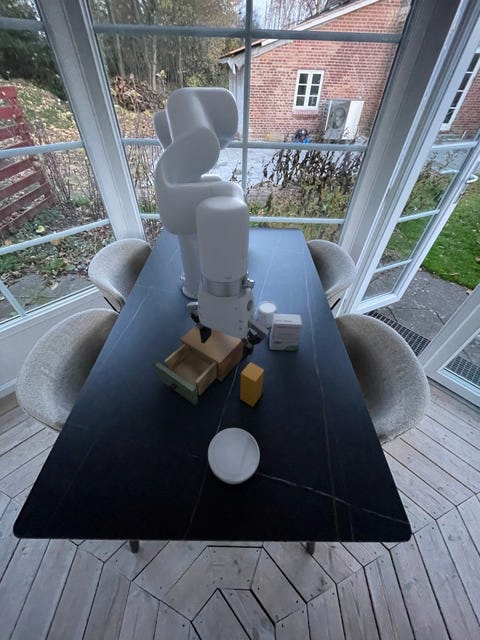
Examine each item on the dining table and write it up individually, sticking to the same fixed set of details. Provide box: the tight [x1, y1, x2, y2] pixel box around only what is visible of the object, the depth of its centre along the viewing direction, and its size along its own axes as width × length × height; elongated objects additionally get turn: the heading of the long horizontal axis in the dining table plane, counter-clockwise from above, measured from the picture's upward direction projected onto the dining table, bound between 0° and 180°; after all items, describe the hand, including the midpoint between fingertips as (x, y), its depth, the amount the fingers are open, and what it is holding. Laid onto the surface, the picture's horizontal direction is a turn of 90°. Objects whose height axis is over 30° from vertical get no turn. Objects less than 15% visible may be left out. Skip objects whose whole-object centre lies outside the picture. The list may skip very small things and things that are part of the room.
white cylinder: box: [257, 300, 279, 329], centre depth 92 cm, size 7×7×7 cm
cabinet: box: [179, 325, 249, 382], centre depth 80 cm, size 14×15×9 cm
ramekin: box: [207, 427, 261, 485], centre depth 59 cm, size 11×11×5 cm
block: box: [239, 361, 265, 408], centre depth 69 cm, size 4×4×12 cm
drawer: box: [154, 343, 219, 406], centre depth 74 cm, size 14×14×7 cm
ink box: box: [269, 313, 303, 351], centre depth 83 cm, size 8×5×12 cm, turn 87°
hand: (226, 346), depth 56 cm, fingers open, 9 cm apart
